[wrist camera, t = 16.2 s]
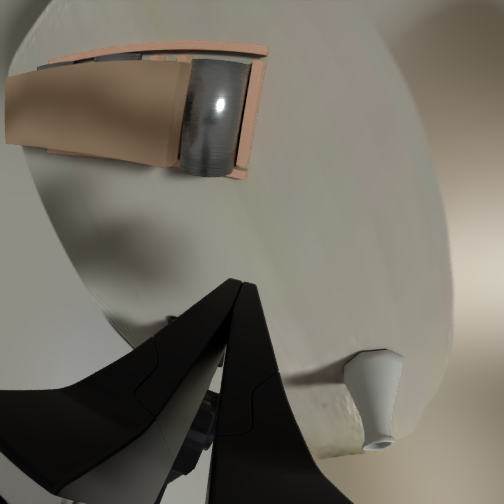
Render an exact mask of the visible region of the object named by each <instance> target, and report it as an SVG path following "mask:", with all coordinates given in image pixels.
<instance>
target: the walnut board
mask: <svg viewBox="0 0 504 504" xmlns="http://www.w3.org/2000/svg"><path fill="white" fill-rule="evenodd" d="M191 68H192V63H186V62H179V61H156V60H127V61H105V62H92V63H82V64H74V65H66V66H59V67H53V68H47V69H42V70H37V71H32V72H28V73H23V74H19V75H15V76H11V77H8V78H7V79H6V93H5V138H6V144H15V145H25V146H34V147H43V148H51V149H58V150H65V151H72V152H79V153H86V154H92V155H98V156H104V157H110V158H115V159H121V160H126V161H132V162H137V163H142V164H147V165H152V166H157V167H161V168H166V167H168V166H169V165H171V164H172V163H174V162H176V161H177V155H178V147H179V140H180V133H181V126H182V119H183V113H184V107H185V101H186V95H187V89H188V84H189V79H190V73H191Z"/></svg>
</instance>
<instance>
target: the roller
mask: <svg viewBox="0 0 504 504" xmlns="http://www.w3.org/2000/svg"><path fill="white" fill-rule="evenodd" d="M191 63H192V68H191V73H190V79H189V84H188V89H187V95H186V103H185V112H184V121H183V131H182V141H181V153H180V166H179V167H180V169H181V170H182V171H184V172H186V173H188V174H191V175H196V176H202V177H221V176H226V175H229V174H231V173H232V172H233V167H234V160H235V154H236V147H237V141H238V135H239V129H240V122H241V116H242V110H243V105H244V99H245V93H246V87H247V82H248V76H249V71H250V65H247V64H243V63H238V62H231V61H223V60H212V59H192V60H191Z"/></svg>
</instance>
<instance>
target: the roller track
mask: <svg viewBox="0 0 504 504" xmlns="http://www.w3.org/2000/svg"><path fill="white" fill-rule="evenodd" d="M161 50H208V51H226V52H238V53H248V54H256V55H264V56H268V51H269V47H268V46H262V45H253V44H243V43H231V42H214V41H169V42H152V43H140V44H130V45H122V46H115V47H109V48H102V49H97V50H92V51H87V52H82V53H77V54H73V55H69V56H65V57H61V58H57V59H54V60H50V61H48V64H52V63H57V62H65V61H78V60H83V59H88V58H94V57H97V56H101V55H108V54H121V53H132V52H144V51H161ZM165 59H166V57H165V56H158V55H157V56H150V58H149V60H156V61H165ZM192 59H193V56H188V55H178V57H177V61H179V62H186V63H191V60H192ZM265 67H266V62H264V61H260V60H253V64H252V70H251V76H250V81H249V87H248V93H247V99H246V105H245V111H244V118H243V124H242V130H241V137H240V143H239V150H238V156H237V163H236V165H238V166H243V167H246V165H247V164H248V163H249V159H250V153H251V147H252V141H253V135H254V129H255V123H256V118H257V112H258V106H259V100H260V95H261V89H262V83H263V78H264V72H265ZM185 103H186V101H185ZM184 112H185V107H184ZM183 121H184V113H183V119H182V126H181V133H180V140H179V147H178V153H180V152H181V141H182V131H183ZM47 153H52V154H67V155H79V156H91V157H101V158H110V157H104V156H98V155H92V154H86V153H79V152H72V151H65V150H58V149H51V148H47ZM110 159H115V158H110ZM119 160H121V159H119ZM169 166H171V167H177V168H180V167H179V166H180V157H177V161H176V162H174V163H172V164H171V165H169ZM247 171H248V169H244V168H239V167H233V172H232V173H231V174H229V175H226V176H228V177H233V178H238V179H243V180H245V179H246V177H247Z"/></svg>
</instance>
